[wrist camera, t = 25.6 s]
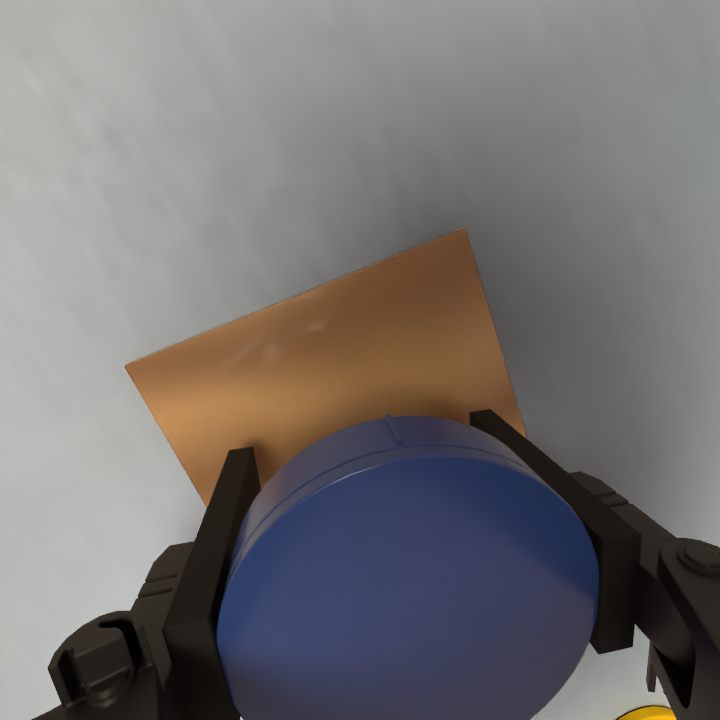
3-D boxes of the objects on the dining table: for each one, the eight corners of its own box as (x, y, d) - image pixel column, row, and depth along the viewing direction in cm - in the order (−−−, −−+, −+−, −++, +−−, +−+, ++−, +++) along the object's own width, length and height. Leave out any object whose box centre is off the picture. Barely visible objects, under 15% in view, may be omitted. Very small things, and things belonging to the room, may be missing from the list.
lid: (202, 437, 8) (173, 487, 6) (553, 388, 9) (615, 422, 7) (261, 715, 10) (252, 811, 8) (544, 655, 11) (591, 733, 9)
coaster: (129, 362, 14) (123, 366, 13) (460, 228, 14) (465, 227, 14) (278, 620, 17) (278, 631, 17) (542, 506, 17) (549, 513, 17)
